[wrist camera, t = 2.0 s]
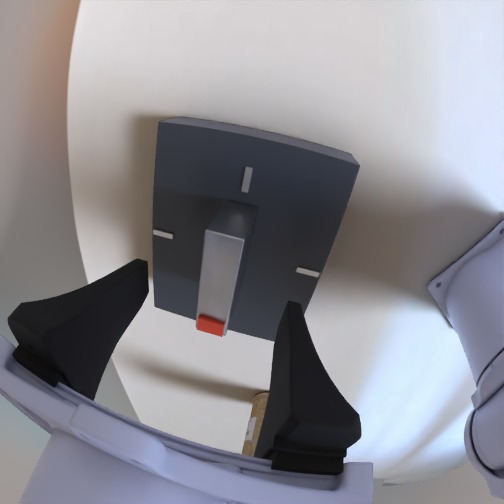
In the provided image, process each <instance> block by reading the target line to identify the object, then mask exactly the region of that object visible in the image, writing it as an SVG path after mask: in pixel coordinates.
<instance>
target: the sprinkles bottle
mask: <svg viewBox="0 0 504 504" xmlns="http://www.w3.org/2000/svg"><path fill="white" fill-rule="evenodd" d="M268 395H269V393H260V394H258V395H256V396H255V397H254V398H253V406H252V411H251V416H250V420H249V423H248V427H247V432H246V437H245V441H244V446H243V451H242V455H246V456H251V457H253V456H254V453H255V449H256V445H257V442H258V438H259V434H260V430H261V426H262V422H263V418H264V414H265V409H266V405H267V400H268Z"/></svg>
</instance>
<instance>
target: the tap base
mask: <svg viewBox="0 0 504 504" xmlns="http://www.w3.org/2000/svg"><path fill="white" fill-rule="evenodd" d="M359 168H360V165H359V164H358V162H357V161H356V160H355V158H354V157H353V156H352V154H349V153H346V152H343V151H340V150H337V149H333V148H330V147H326V146H323V145H319V144H316V143H312V142H309V141H305V140H301V139H297V138H293V137H289V136H285V135H281V134H277V133H272V132H268V131H263V130H259V129H254V128H249V127H244V126H239V125H233V124H228V123H222V122H216V121H209V120H203V119H196V118H188V117H176V118H172V119H168V120H164V121H160V122H159V125H158V135H157V146H156V159H155V174H154V194H153V285H154V305H155V307H157V308H160V309H163V310H166V311H169V312H172V313H175V314H178V315H181V316H184V317H188V318H191V319H194V320H196V318H197V306H198V295H199V284H200V274H201V264H202V254H203V245H204V236H205V230H206V229H207V228H208V226H209V225H210V223H211V222H212V220H213V219H214V218H215V216H216V215H217V213H218V212H219V211H220V209H221V208H222V207H223V205H224V204H225V202H226V201H227V200H229V201H233V202H237V203H241V204H245V205H249V206H253V207H257V208H258V211H257V216H256V220H255V225H254V229H253V234H252V239H251V243H250V248H249V252H248V257H247V261H246V266H245V271H244V275H243V280H242V285H241V289H240V294H239V297H238V300H237V303H236V306H235V309H234V312H233V315H232V318H231V321H230V324H229V327H228V330H232V331H235V332H239V333H243V334H247V335H250V336H254V337H258V338H262V339H266V340H270V341H274V342H275V338H276V333H277V329H278V326H279V323H280V321H281V318H282V315H283V313H284V310H285V307H286V305H287V302H288V300H289V301H293V302H297V303H300V304H301V305H302V309H303V313H305V311H306V309H307V307H308V304H309V302H310V300H311V297H312V295H313V292H314V290H315V288H316V285H317V283H318V280H319V278H320V275H321V273H322V270H323V268H324V265H325V263H326V260H327V258H328V255H329V253H330V250H331V248H332V245H333V242H334V240H335V237H336V234H337V232H338V229H339V226H340V223H341V221H342V218H343V215H344V212H345V209H346V207H347V204H348V201H349V198H350V195H351V192H352V189H353V186H354V183H355V180H356V177H357V174H358V171H359Z"/></svg>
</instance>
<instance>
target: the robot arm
mask: <svg viewBox="0 0 504 504" xmlns="http://www.w3.org/2000/svg"><path fill="white" fill-rule="evenodd" d="M501 229H502V230H501ZM500 230H501V231H500ZM439 282H440V283H439ZM437 283H439V284H437ZM436 284H437V285H436ZM427 288H428V291H429V292H430V294H431V295H432V297H433V298H434V300H435V301H436V303H437V304H438V305H439V307H440V308H441V310H442V311H443V313H444V314H445V316H446V317H447V319H448V321H449V322H450V324H451V325H452V327H453V328H454V330H455V332H456V333H457V334H458V336H459V339H460V341H461V344H462V346H463V349H464V352H465V354H466V357H467V360H468V362H469V365H470V368H471V371H472V374H473V377H474V380H475V383H476V387H477V390H476V392H475V393H474V394H473V395H472V396H471V399H472V402H473V406H474V409H473V410H472V411H471V413H470V415H469V416H468V418H467V421H466V424H465V430H464V443H465V449H466V453H467V455H468V458H469V460H470V462H471V464H472V465H473V466H474V468H475V469H476V470H478V472H480V473H481V474H482V475H483V477H484V478H485V480H486V481H487V484H488V486H489V489H490V492H491V495H492V496H494V497H498V498H501V499H504V220H503V221H502V222H501V223H500V224H499V225H498V226H497V227H496V228H495V229H493V230H492V231H491V232H490V233H489V234H488V235H487V236H486V237H485V238H484V239H483V240H481V241H480V242H479V243H478V244H477V245H476V246H475V247H473V248H472V249H471V250H470V251H469V252H468V253H466V254H465V255H464V256H463V257H462V258H460V259H459V260H458V261H457V262H456V263H454V264H453V265H452V266H451V267H449V268H448V269H447V270H446V271H444V272H443V273H442V274H440V275H439V276H438V277H437V278H435V279H434V280H433V281H431V282H430V283H429V284H428V286H427ZM148 293H149V284H148V262H147V261H144V260H141V259H138V258H137V259H135V260H133V261H131V262H130V263H128V264H126V265H124V266H123V267H121V268H119V269H117V270H115V271H114V272H112V273H110V274H108V275H107V276H105V277H103V278H101V279H99V280H97V281H95V282H93V283H91V284H89V285H87V286H84V287H82V288H80V289H77V290H74V291H72V292H69V293H66V294H63V295H60V296H57V297H52V298H48V299H44V300H39V301H32V302H25V303H21V304H20V305H19V306H18V307H17V308H16V309H15V310H14V311H13V313H12V314H11V315H10V316H9V317H8V324H9V327H10V329H11V331H12V333H13V335H14V336H15V338H16V340H17V341H18V343H19V345H18V346H17V348H16V347H15V346H14V345H13V344H12V343H11V342H9V341H8V340H7V339H5V338H4V337H3V336H2V335H0V393H1V394H2V395H3V396H4V397H5V398H6V399H7V400H8V401H10V402H11V403H12V404H13V405H14V406H15V407H17V408H18V409H19V410H20V411H21V412H23V413H24V414H25V415H26V416H28V417H29V418H30V419H31V420H32V421H34V422H35V423H36V424H38V425H39V426H40V427H41V428H43V429H44V430H46V431H47V432H48V433H50V434H51V435H52V436H51V437H50V439H49V441H48V443H47V445H46V447H45V449H44V451H43V453H42V455H41V457H40V459H39V460H38V463H37V465H36V467H35V469H34V471H33V473H32V475H31V477H30V479H29V482H28V483H27V486H26V488H25V490H24V492H23V495H22V497H21V499H20V501H19V504H372V499H373V498H372V497H373V463H372V462H348V463H344V464H343V459H344V457H346V455H347V448H349V447H350V446H351V445H353V444H354V443H356V442H357V441H358V440H359V439H360V438H361V422H360V417H359V414H358V413H357V412H356V411H355V410H354V409H353V408H352V406H351V405H350V404H349V403H348V402H347V401H346V400H345V398H344V397H343V396H342V395H341V393H340V392H339V390H338V389H337V387H336V386H335V385H334V383H333V382H332V380H331V379H330V377H329V375H328V373H327V372H326V370H325V368H324V366H323V364H322V362H321V360H320V358H319V356H318V354H317V352H316V349H315V347H314V344H313V342H312V339H311V336H310V333H309V331H308V328H307V324H306V321H305V317H304V313H303V309H302V305H301V304H300V303H297V302H293V301H289V300H288V302H287V305H286V307H285V310H284V313H283V315H282V318H281V321H280V323H279V326H278V329H277V333H276V338H275V343H274V350H273V361H272V372H271V382H270V390H269V395H268V400H267V405H266V409H265V414H264V418H263V422H262V426H261V430H260V434H259V438H258V442H257V445H256V449H255V453H254V456H253V457H251V456H246V455H241V454H237V453H232V452H228V451H224V450H220V449H216V448H212V447H209V446H205V445H202V444H198V443H195V442H192V441H189V440H185V439H182V438H179V437H176V436H173V435H171V434H168V433H165V432H162V431H159V430H157V429H154V428H152V427H149V426H147V425H144V424H142V423H139V422H137V421H134V420H132V419H130V418H127V417H125V416H123V415H121V414H119V413H116V412H114V411H112V410H110V409H108V408H106V407H104V406H102V405H100V404H98V403H96V402H94V398H95V395H96V392H97V389H98V386H99V383H100V381H101V378H102V375H103V373H104V370H105V368H106V365H107V363H108V361H109V359H110V357H111V355H112V353H113V351H114V349H115V347H116V345H117V343H118V341H119V339H120V338H121V336H122V335H123V333H124V332H125V330H126V329H127V327H128V326H129V324H130V323H131V321H132V320H133V319H134V317H135V316H136V314H137V313H138V311H139V310H140V308H141V306H142V305H143V303H144V301H145V299H146V297H147V295H148Z"/></svg>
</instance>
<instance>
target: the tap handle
mask: <svg viewBox="0 0 504 504" xmlns="http://www.w3.org/2000/svg"><path fill="white" fill-rule="evenodd" d="M257 211H258V208H257V207H253V206H249V205H245V204H241V203H237V202H233V201H229V200H227V201H226V202H225V204H224V205H223V207H222V208H221V209H220V211H219V212H218V213H217V215H216V216H215V218H214V219H213V220H212V222H211V223H210V225H209V226H208V228H207V229H206V230H205V236H204V245H203V254H202V264H201V274H200V284H199V295H198V306H197V318H196V328H197V330H200V331H204V332H207V333H211V334H214V335H217V336H221V337H222V336H225V335H226V333H227V330H228V327H229V324H230V321H231V318H232V315H233V312H234V309H235V306H236V303H237V300H238V297H239V294H240V289H241V285H242V280H243V275H244V271H245V266H246V261H247V257H248V252H249V248H250V243H251V239H252V234H253V229H254V225H255V220H256V216H257Z"/></svg>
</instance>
